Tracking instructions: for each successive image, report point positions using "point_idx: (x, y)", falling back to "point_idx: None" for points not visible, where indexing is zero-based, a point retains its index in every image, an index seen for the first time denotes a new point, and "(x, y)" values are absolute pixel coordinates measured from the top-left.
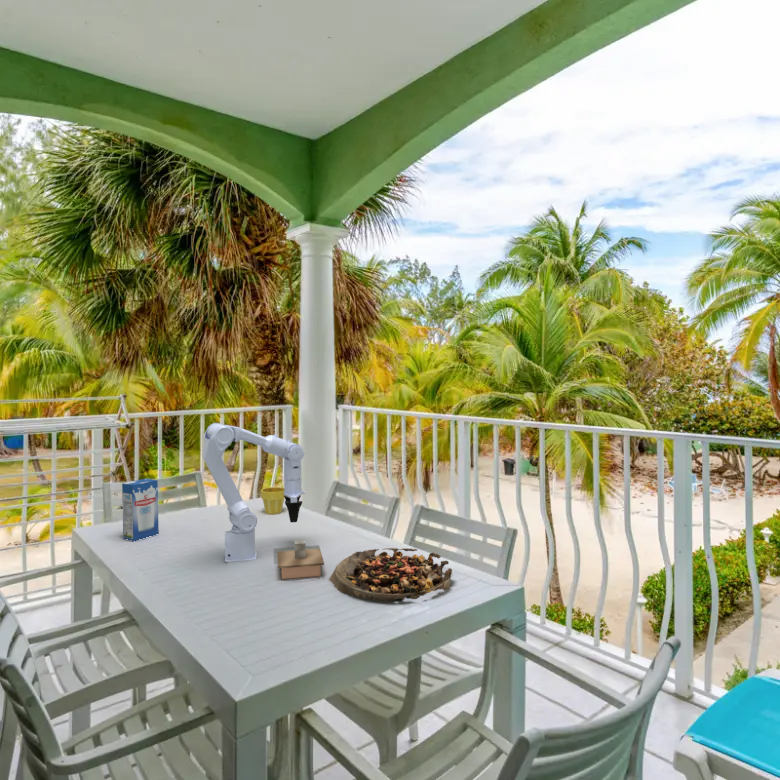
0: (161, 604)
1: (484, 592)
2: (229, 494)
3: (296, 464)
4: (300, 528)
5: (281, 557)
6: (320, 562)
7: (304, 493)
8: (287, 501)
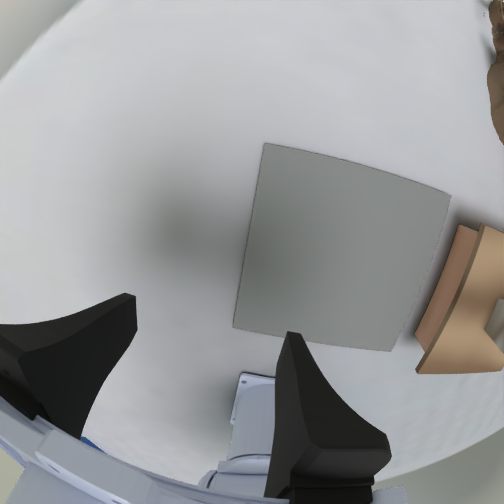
0: (413, 466)
1: None
2: None
3: None
4: (32, 178)
5: (467, 364)
6: None
7: (151, 484)
8: None
